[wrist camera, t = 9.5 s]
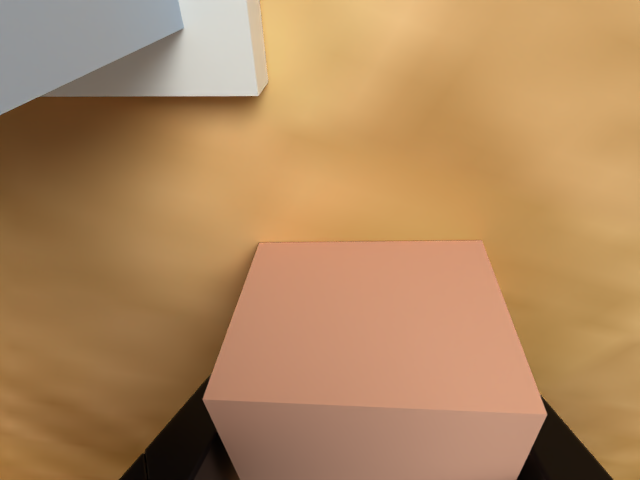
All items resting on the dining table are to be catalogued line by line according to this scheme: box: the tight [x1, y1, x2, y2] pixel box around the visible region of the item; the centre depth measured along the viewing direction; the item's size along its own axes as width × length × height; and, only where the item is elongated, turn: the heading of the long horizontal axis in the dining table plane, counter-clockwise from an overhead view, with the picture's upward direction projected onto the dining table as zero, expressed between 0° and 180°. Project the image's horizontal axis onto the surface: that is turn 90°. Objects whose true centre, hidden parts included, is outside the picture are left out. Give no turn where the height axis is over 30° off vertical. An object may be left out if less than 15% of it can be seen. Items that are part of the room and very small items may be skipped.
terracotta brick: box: [202, 240, 547, 480], centre depth 9 cm, size 5×5×4 cm
